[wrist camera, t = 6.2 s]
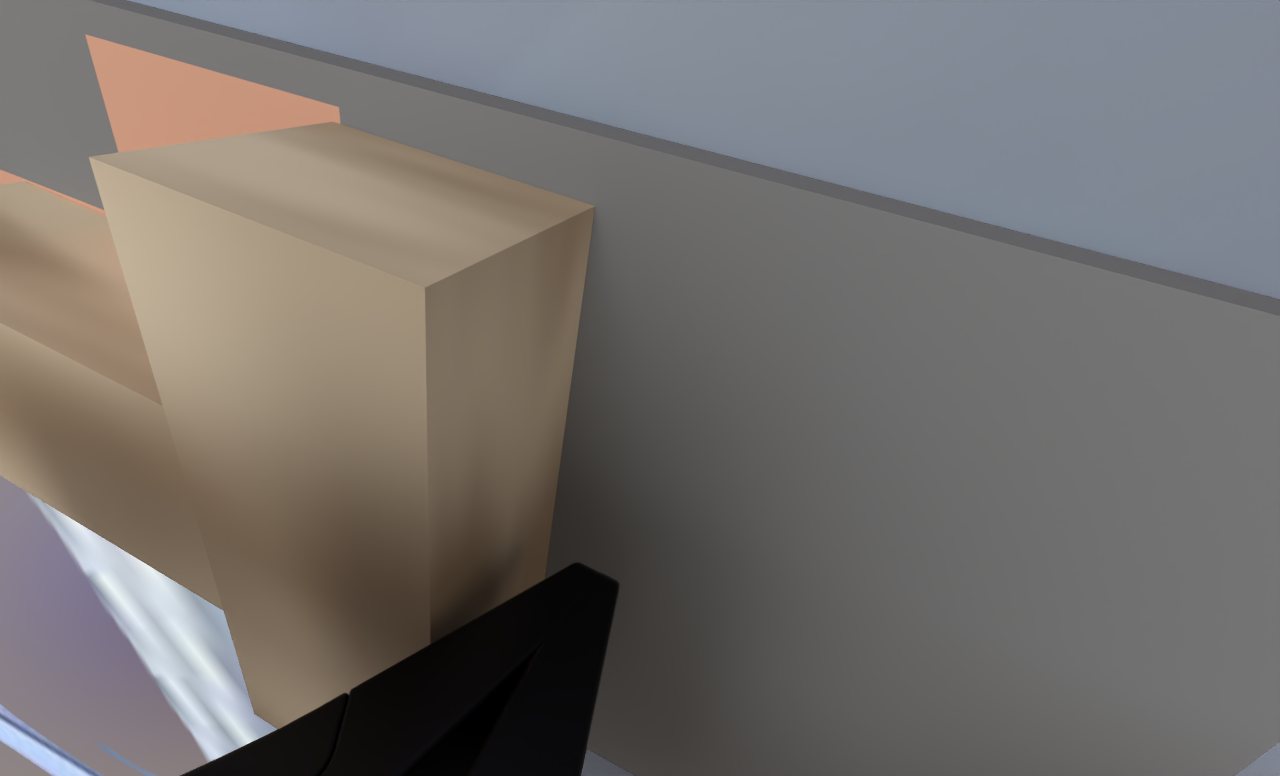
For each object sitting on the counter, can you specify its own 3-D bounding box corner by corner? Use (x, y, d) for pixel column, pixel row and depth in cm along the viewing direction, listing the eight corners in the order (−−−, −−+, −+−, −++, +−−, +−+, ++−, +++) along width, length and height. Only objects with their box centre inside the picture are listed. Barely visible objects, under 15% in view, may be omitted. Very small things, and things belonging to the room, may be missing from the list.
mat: (978, 928, 12) (979, 967, 11) (38, 419, 19) (13, 429, 18) (1630, 390, 5) (1697, 425, 5) (-187, -81, 12) (-234, -86, 12)
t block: (530, 683, 13) (433, 830, 11) (123, 457, 16) (-24, 532, 14) (595, 205, 8) (424, 287, 5) (-42, 0, 11) (-334, -8, 8)
